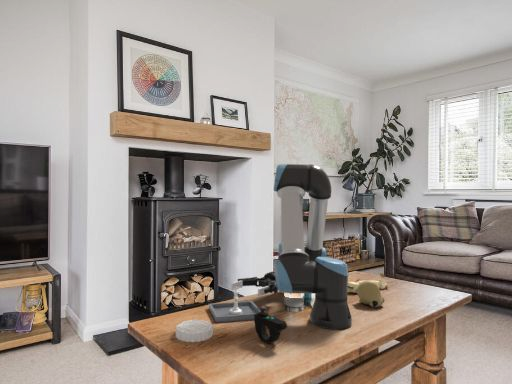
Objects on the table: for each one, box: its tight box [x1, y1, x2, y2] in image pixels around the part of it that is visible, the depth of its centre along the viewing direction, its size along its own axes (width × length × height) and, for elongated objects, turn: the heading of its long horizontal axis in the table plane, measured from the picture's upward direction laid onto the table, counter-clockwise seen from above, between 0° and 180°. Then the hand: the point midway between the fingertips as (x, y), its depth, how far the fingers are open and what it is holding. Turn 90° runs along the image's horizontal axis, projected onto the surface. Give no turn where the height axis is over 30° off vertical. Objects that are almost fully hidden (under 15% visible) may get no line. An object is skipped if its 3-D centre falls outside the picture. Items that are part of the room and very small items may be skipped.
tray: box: [208, 300, 261, 324], centre depth 142 cm, size 16×18×2 cm
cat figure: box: [347, 272, 389, 293], centre depth 180 cm, size 10×9×25 cm
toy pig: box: [355, 279, 385, 308], centre depth 157 cm, size 10×12×11 cm
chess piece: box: [229, 286, 242, 314], centre depth 142 cm, size 5×5×10 cm
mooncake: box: [175, 319, 214, 343], centre depth 120 cm, size 12×12×4 cm
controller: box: [253, 307, 288, 344], centre depth 115 cm, size 4×12×10 cm, turn 43°
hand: (244, 289), depth 147 cm, fingers open, 13 cm apart
